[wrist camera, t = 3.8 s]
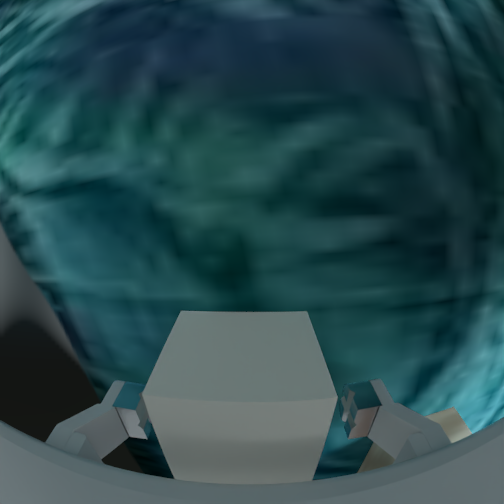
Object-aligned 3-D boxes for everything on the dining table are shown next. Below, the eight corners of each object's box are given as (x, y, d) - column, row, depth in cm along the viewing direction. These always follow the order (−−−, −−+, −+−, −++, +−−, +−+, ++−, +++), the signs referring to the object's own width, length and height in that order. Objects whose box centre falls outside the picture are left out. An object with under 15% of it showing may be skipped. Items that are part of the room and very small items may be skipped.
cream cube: (181, 309, 11) (142, 393, 6) (306, 310, 11) (338, 397, 6) (194, 397, 12) (175, 480, 8) (296, 398, 12) (310, 482, 8)
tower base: (380, 427, 13) (411, 503, 8) (453, 406, 13) (491, 464, 8) (356, 473, 15) (373, 535, 9) (423, 455, 15) (447, 507, 9)
